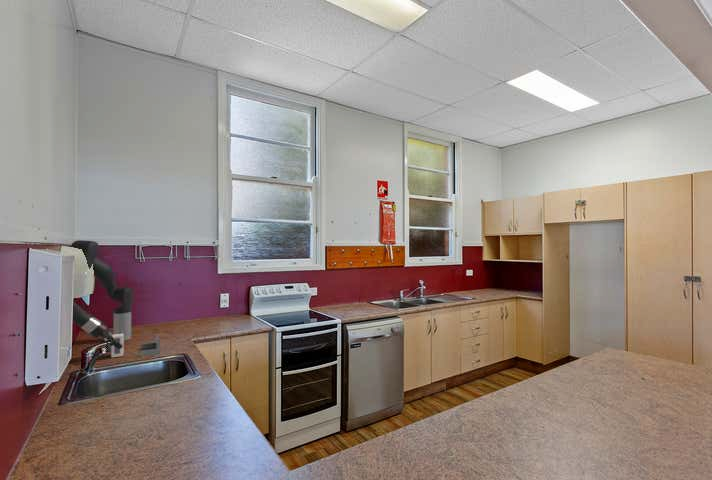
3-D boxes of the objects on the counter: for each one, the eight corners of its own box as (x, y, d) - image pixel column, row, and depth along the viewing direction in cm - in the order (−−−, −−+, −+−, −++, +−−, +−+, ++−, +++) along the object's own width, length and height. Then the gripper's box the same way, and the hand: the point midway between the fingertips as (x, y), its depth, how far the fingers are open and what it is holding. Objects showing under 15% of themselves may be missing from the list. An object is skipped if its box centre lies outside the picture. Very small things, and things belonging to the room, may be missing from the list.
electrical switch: (118, 350, 197) (116, 334, 196) (107, 353, 193) (106, 337, 192) (110, 347, 202) (109, 331, 201) (100, 350, 198) (98, 334, 197)
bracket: (141, 349, 200) (141, 335, 199) (159, 346, 204) (159, 333, 204) (140, 356, 187) (140, 342, 187) (159, 354, 192) (159, 339, 192)
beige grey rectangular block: (112, 354, 189) (112, 334, 189) (123, 353, 191) (123, 333, 191) (111, 357, 184) (111, 337, 184) (122, 355, 187) (122, 335, 187)
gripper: (98, 324, 178) (126, 344, 184) (102, 318, 190) (128, 337, 196) (85, 336, 175) (114, 355, 181) (90, 329, 187) (117, 347, 194)
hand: (121, 346), depth 189 cm, fingers closed on beige grey rectangular block, 5 cm apart
